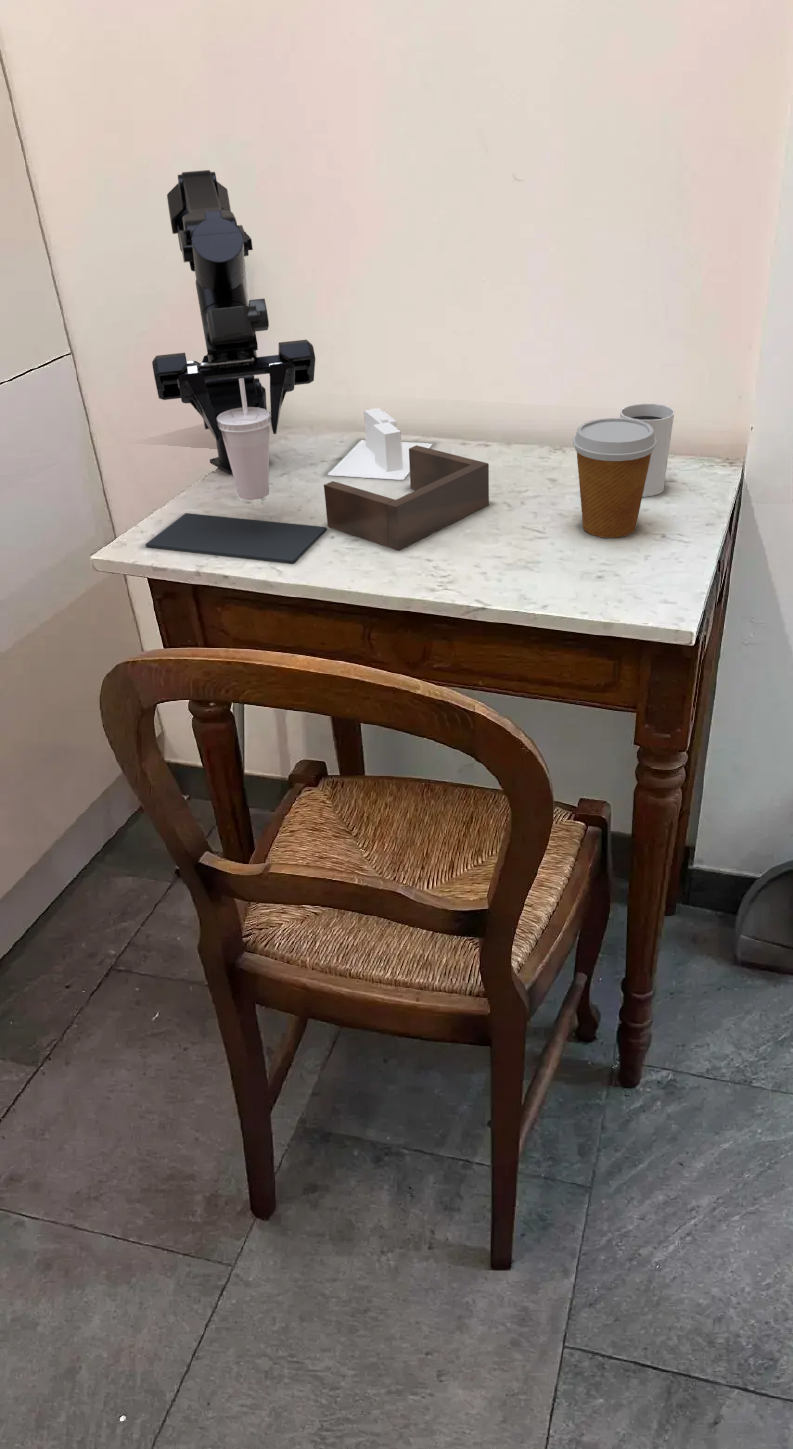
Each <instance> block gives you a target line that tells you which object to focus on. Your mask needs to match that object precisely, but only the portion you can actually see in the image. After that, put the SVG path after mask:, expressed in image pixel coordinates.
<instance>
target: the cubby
mask: <svg viewBox="0 0 793 1449" xmlns="http://www.w3.org/2000/svg"><path fill="white" fill-rule="evenodd" d="M409 464H410V472H409V478H410V479H409V483H410V489H412V490H414V491H411V492H409V493H407V494H405V495H403V496H401V497H399V498H397V499H394V498H391V497H388V496H385V495H381V494H379V493H374V492H371V491H368V490H365V489H360V488H357V487H355V486H350V485H348V484H344V483H340V482H337V481H334V480H332V481H330V482H327V483H325V484H323V490H324V502H325V512H326V522H327V528H330V529H334V530H336V531H339V532H342V533H344V534H345V533H346V534H349V535H351V536H355V537H357V538H360V539H364V540H366V541H370V542H373V543H376V544H378V545H381V546H383V547H387V548H391V549H393V550H397V551H401V550H402V549H405V548H406V547H409V546H410V545H412V544H414V543H417V542H419V541H421V540H422V539H424V538H427V537H428V536H430V535H433V534H434V533H436V532H438V531H440V530H442V529H444V528H445V527H448V526H450V525H452V524H453V523H456V522H458V521H461V520H462V519H464V518H465V517H468V516H469V515H471V514H473V513H475V512H478V511H479V510H481V509H483V508H485V507H487V506H489V505H490V469H489V468H490V464H489V463H488V462H484V461H481V460H476V459H473V458H469V457H465V456H461V455H457V454H453V453H449V452H444V451H441V450H437V449H432V448H425V447H421V446H417V445H416V446H414V447H412V448H409Z"/></svg>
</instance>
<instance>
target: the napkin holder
mask: <svg viewBox="0 0 793 1449" xmlns="http://www.w3.org/2000/svg"><path fill="white" fill-rule="evenodd" d="M363 418H364V420H363V421H364V433H365V434H364V436H365V439H361V440H360V441H358V443H357V444H356V445H355V446H353V448H352V449H351V450H350V451H349V452H348V453H347V454H346V455H345V456H344V457H343V458H342V459H341V460H340V461H339V462H338V463H337V464H336V465H335V466H334V467H333V468H332V469H331V471H329V472H328V473H327V474H326V475H327V476H333V477H334V476H335V477H336V476H337V477H350V478H351V477H352V478H365V479H382V480H396V481H397V480H398V481H404V480H405V479H406V478H407V476H408V475H410V464H409V448H412V447H414V446H416V445H417V446H421V447H425V448H429V449H431V447H432V445H433V443H430V442H429V443H428V442H427V443H426V442H411V441H410V442H408V441H407V442H406V441H402V431H401V430H400V429H398V428H397V427H398V426H397V425H398V424H397V420H396V419H394V417H392V416H390V415H389V414H388V413H386V412H385V411H384V410H382V409H381V408H380V407H377V408H371V409H365V410H363Z"/></svg>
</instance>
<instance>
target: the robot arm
mask: <svg viewBox="0 0 793 1449" xmlns="http://www.w3.org/2000/svg"><path fill="white" fill-rule="evenodd" d="M217 180H218V179H217V174H216V172H215V171H211V170H210V169H206V170H205V169H203V170H193V171H192V170H191V171H182V172H181V174H177V183H176V184H175V185H174V186H173V188H172V189H170V191H169V192H168V193H167V194H166V196H167V197H166V198H167V199H166V200H167V206H168V214H169V220H170V226H171V227H170V228H171V232H172V235H176V234H177V239H178V244H179V250H180V252H181V254H182V261H183V263H189V268H190V270H191V272H194V273H195V274H194V275H195V287H196V294H197V300H198V305H199V312H200V317H201V323H202V329H203V333H204V334H203V335H204V341H205V347H206V355H203V358H202V360H201V362H199V361H197V360H187V355H186V352H178V353H169V354H159V355H155V356H154V358H153V360H152V361H151V366H152V371H153V377H154V381H155V387H156V391H157V396H158V399H159V400H163V401H168V400H177V399H180V401H181V403H183V404H190V405H191V406H192V407H193V408H194V410H195V411H196V412H197V413H198V414H199V415H200V417H201V418H202V420H203V425H204V430H209V431H210V433H211V434H212V436H213V438H214V439H215V443H216V449H217V450H216V451H217V457H213V458H210V459H209V464H211V465H213V466H214V467H217V468H218V469H220V470H222V471H225V472H226V473H228V474H233V473H232V469H231V466H230V462H229V458H228V455H227V451H226V447H225V444H224V440H223V436H222V432H221V430H220V429H218V425H217V416H218V415H219V414H221V413H223V412H225V411H228V410H231V409H236V408H242V399H241V392H240V384H239V379H240V378H244V385H245V393H246V400H247V407H257V408H263V409H266V410H268V408H267V392H266V388H265V386H264V385H262V383H261V380H260V377H255V376H258V375H269V404H270V416H271V423H270V426H271V431H272V434H273V435H277V433H278V428H279V421H280V414H281V409H282V406H283V403H284V401H285V397H286V395H287V393H290V392H292V391H294V390H295V386H299V385H309V384H311V383H313V382H314V381H315V372H316V371H315V369H316V355H315V349H314V345H313V344H312V343H311V341H309V340H308V339H300V340H299V339H297V340H290V341H288V340H287V341H281V342H280V341H279V342H278V353H277V354H273V355H272V354H271V355H265V356H258V354H257V351H258V348H259V347H258V346H259V345H258V339H257V333H256V332H264V331H268V330H269V327H270V323H269V315H268V310H267V309H268V308H267V304H266V303H267V302H266V299H265V298H255V299H249V300H248V299H247V292H246V287H245V277H246V270H245V266H246V265H245V258H246V257H248V256H249V251H253V250H254V249H253V241H252V238H251V236H250V235H249V234H248V233H247V232H246V231H245V229H244V227H243V225H242V224H238V223H237V219H236V216H235V214H234V213H233V211H231V210H232V209H231V203H230V197H229V190H228V188H227V187H225V186H224V185H222V184H221V183H220V182H219V181H217Z"/></svg>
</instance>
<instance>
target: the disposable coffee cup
mask: <svg viewBox="0 0 793 1449" xmlns="http://www.w3.org/2000/svg"><path fill="white" fill-rule="evenodd" d="M656 443H657V439H656V438H655V436H654V431H653V428H652V426H650V425H649V424H647V423H645V422H642V421H639V420H634V419H627V418H620V417H605V418H604V417H603V418H597V419H592V420H589V421H588V420H587V421H586V422H584V423H582V424H580V425H579V426H578V428H577V429H576V433H575V436H574V437H573V438H572V445H573V446H574V449H575V452H576V459H577V472H578V483H579V484H578V485H579V498H580V507H581V521H582V529H583V530H584V531H585V532H586V533H587V534H589V535H591V536H595V537H599V538H607V539H608V538H611V539H612V538H621V537H626V536H628V535H631V534H632V533H634V532H635V531H636V529H637V523H638V519H639V515H640V510H641V505H642V500H643V497H642V495H643V491H644V486H645V481H646V477H647V472H648V467H649V462H650V457H651V453H652V452H653V450H654V447H655V446H656Z"/></svg>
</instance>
